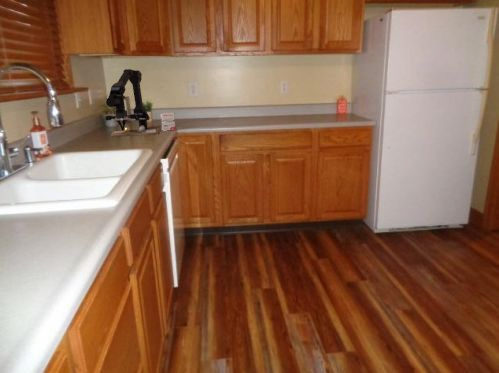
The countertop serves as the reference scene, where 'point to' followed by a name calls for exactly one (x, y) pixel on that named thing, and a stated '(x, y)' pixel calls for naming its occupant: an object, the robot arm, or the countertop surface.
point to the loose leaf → (124, 130)
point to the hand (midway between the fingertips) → (123, 130)
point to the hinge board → (136, 132)
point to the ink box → (167, 121)
